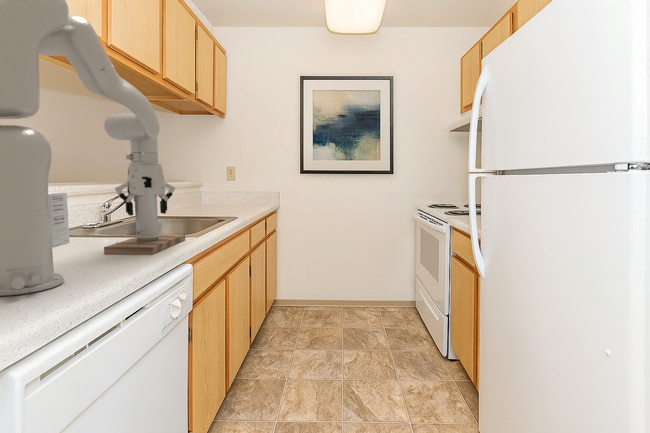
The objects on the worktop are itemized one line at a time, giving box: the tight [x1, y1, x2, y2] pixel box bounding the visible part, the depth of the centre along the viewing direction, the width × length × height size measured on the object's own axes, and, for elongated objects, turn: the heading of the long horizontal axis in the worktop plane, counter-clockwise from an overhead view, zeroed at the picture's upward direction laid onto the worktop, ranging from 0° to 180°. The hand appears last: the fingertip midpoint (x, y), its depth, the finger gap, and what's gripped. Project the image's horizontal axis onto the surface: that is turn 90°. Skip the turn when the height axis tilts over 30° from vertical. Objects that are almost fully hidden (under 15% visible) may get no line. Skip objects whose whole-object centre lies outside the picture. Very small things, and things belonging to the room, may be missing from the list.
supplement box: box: [48, 191, 70, 248], centre depth 119 cm, size 10×9×17 cm
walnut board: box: [103, 233, 186, 256], centre depth 118 cm, size 24×14×2 cm, turn 179°
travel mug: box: [134, 177, 159, 242], centre depth 116 cm, size 6×7×20 cm
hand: (147, 214), depth 117 cm, fingers open, 9 cm apart
